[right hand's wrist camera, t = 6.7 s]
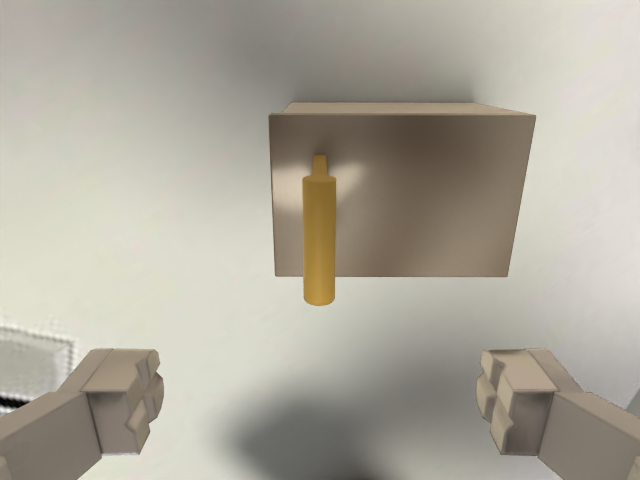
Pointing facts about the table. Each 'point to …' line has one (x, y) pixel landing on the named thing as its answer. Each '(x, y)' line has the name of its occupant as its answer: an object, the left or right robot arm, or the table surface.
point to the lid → (395, 195)
